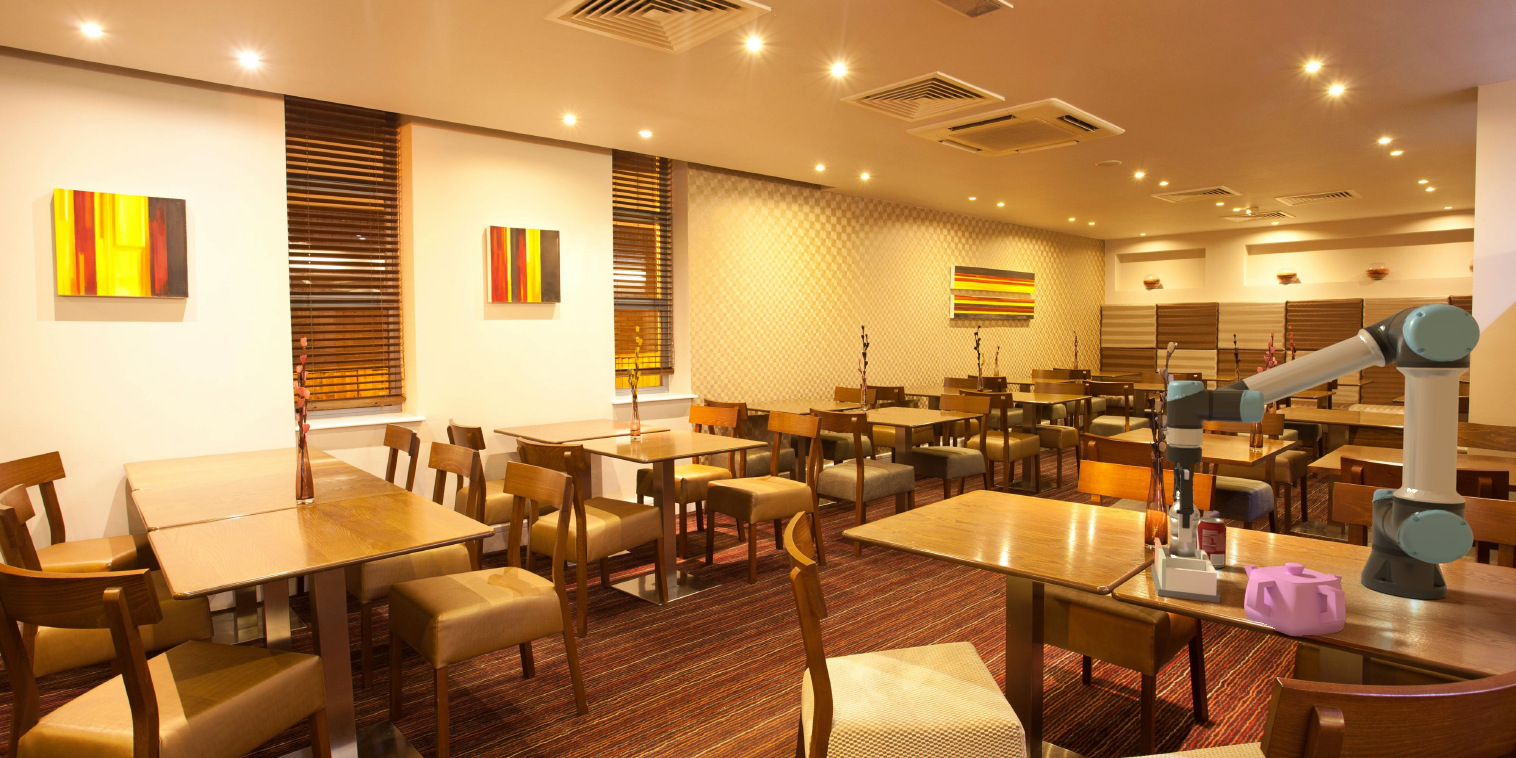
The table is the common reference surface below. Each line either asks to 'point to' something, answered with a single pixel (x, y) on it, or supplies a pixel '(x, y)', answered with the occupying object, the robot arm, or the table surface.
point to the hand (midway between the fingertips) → (1182, 535)
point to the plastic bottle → (1176, 546)
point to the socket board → (1184, 576)
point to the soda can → (1212, 540)
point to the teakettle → (1295, 599)
